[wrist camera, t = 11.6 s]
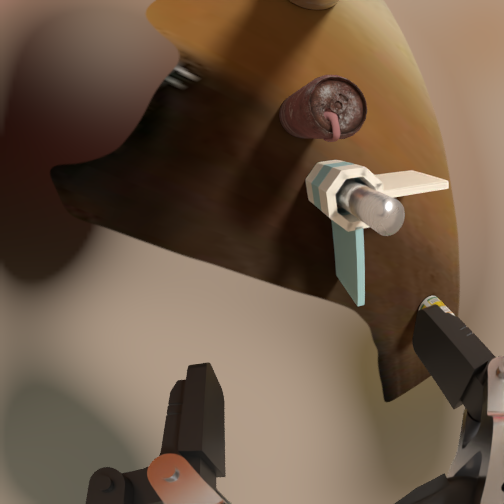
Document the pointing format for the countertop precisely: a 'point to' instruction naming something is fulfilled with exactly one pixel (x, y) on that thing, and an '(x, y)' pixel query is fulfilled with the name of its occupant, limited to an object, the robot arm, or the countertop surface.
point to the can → (324, 109)
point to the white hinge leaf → (383, 183)
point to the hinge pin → (371, 207)
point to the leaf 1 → (345, 244)
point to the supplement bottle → (434, 300)
